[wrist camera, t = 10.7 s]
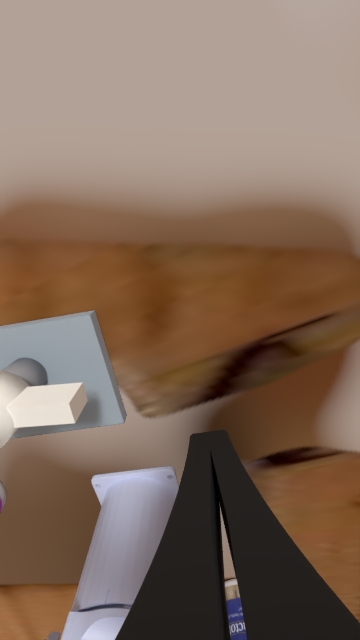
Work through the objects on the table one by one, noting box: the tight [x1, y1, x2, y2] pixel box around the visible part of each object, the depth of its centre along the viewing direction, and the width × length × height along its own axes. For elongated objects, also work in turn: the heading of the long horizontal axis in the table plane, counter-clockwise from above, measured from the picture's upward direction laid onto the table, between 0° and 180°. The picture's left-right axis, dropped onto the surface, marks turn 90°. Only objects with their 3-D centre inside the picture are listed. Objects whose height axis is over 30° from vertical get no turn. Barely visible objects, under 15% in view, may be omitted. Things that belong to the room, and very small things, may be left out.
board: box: [0, 310, 126, 439], centre depth 17 cm, size 10×12×6 cm
